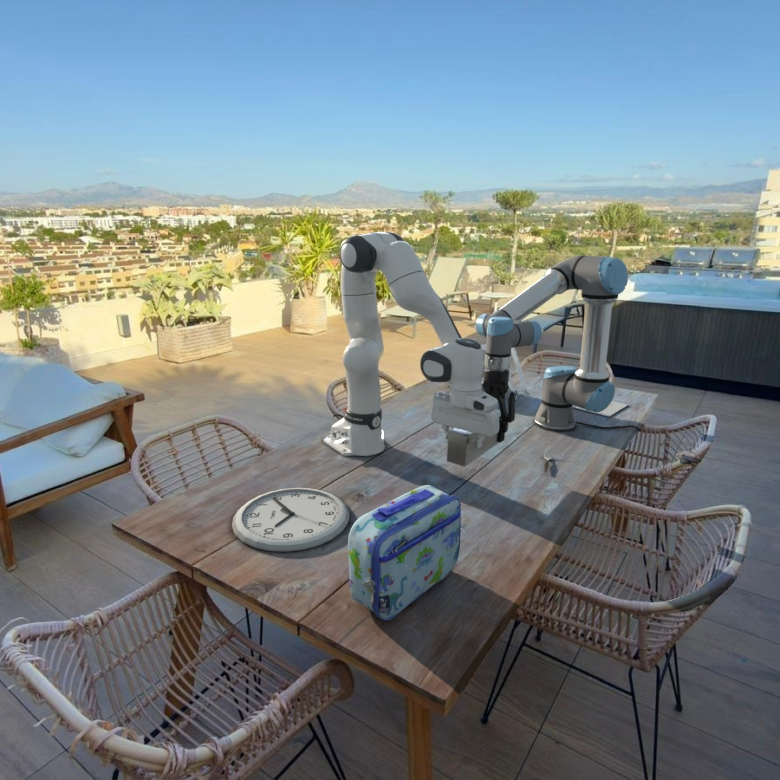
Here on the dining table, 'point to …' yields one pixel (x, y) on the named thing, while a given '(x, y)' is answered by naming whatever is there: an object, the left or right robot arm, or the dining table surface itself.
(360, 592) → the lunch box
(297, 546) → the wall clock
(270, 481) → the dining table surface
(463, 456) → the bar
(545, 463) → the fork
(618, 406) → the invitation card
